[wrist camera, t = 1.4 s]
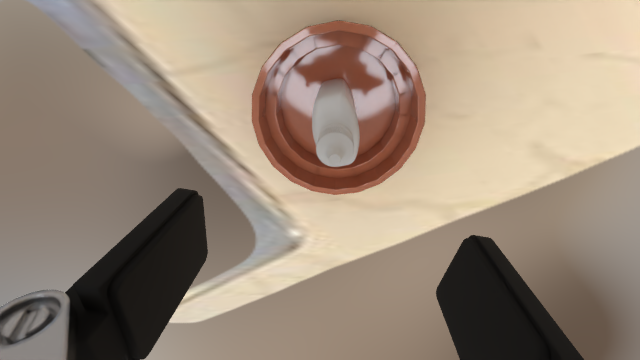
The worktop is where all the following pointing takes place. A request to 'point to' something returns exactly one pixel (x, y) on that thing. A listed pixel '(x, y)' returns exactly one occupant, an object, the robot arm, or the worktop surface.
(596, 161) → the worktop surface
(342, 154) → the eye dropper bottle
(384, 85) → the bowl
